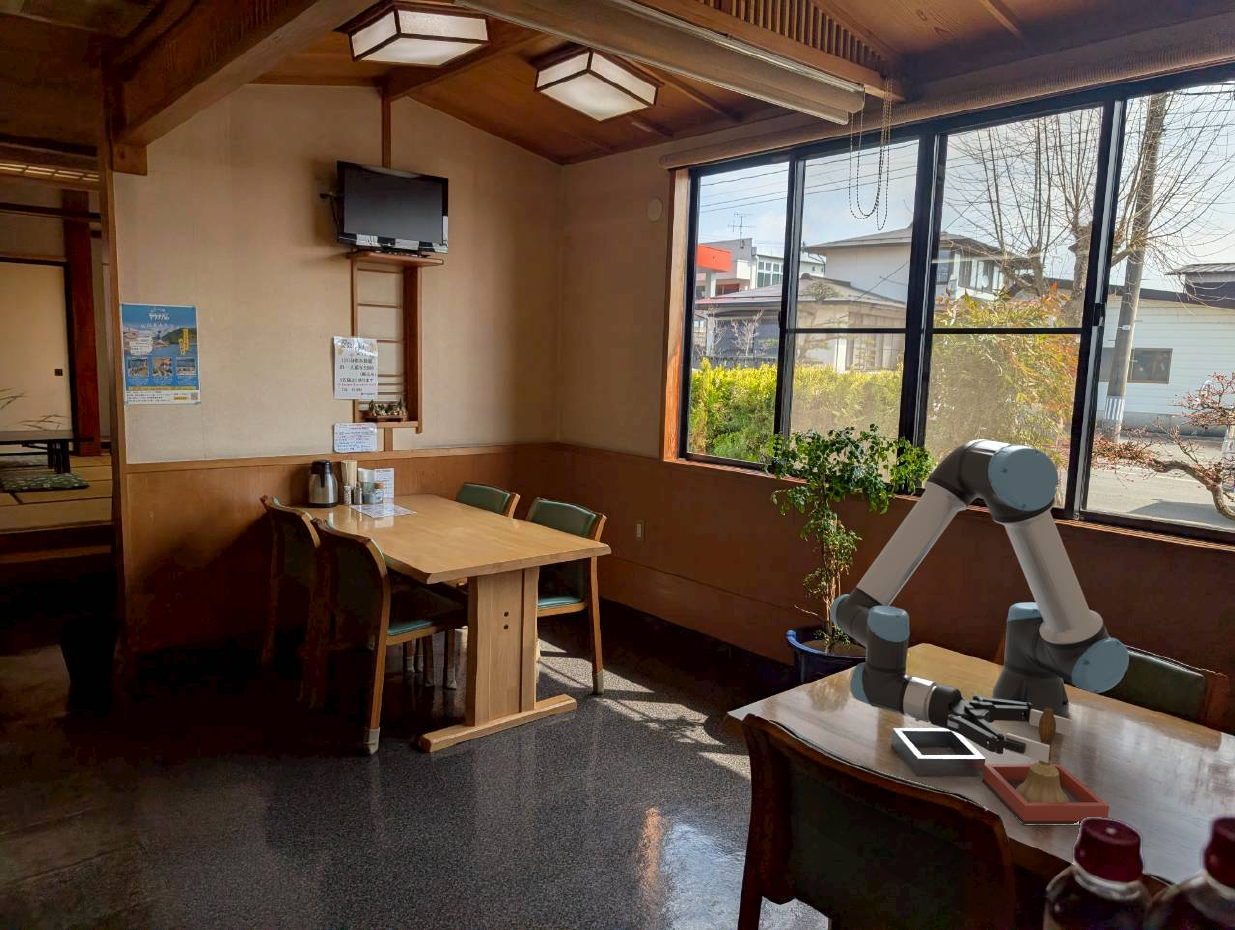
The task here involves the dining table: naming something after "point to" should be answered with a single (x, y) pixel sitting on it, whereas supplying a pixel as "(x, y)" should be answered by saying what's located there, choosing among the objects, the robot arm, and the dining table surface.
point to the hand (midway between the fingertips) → (1060, 740)
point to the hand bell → (1043, 770)
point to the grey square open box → (957, 765)
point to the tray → (1080, 804)
